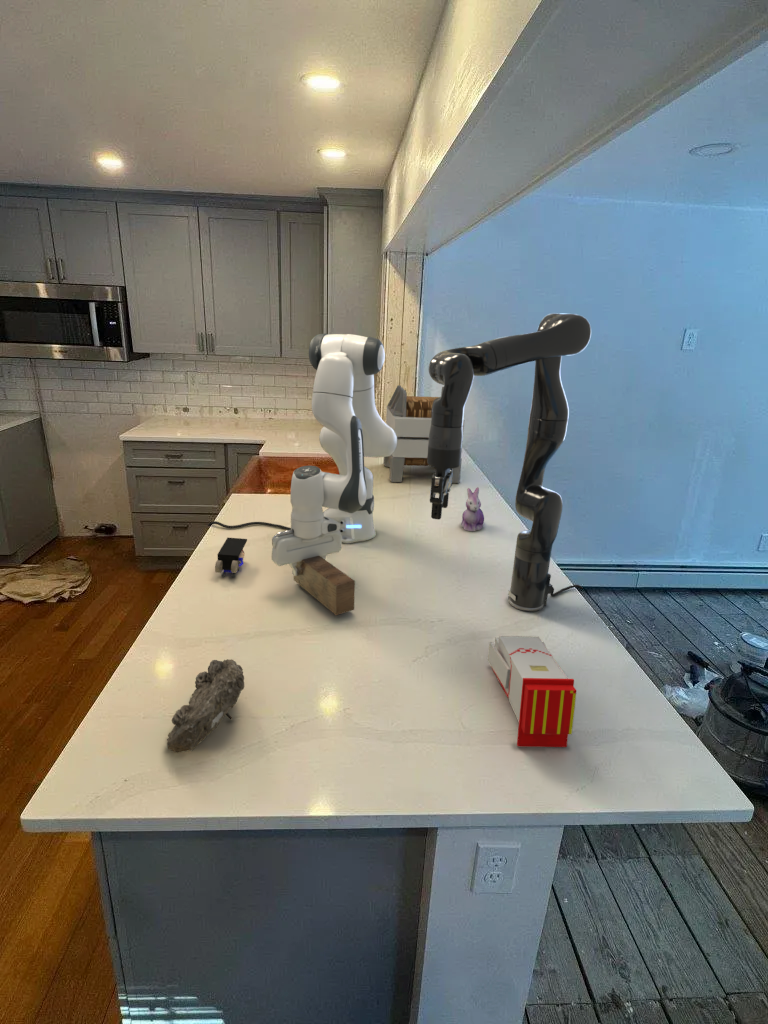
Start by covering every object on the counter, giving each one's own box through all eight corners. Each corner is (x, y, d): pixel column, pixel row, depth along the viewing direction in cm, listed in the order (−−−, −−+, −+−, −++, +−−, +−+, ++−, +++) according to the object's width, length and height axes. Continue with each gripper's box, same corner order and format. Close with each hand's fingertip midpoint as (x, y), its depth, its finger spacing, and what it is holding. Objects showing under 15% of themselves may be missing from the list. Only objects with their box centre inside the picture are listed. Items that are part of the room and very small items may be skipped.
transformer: (382, 463, 289) (386, 382, 275) (445, 464, 293) (451, 384, 279) (390, 482, 257) (394, 392, 243) (460, 483, 261) (468, 394, 247)
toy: (536, 619, 129) (586, 686, 99) (531, 673, 131) (578, 754, 102) (483, 618, 128) (517, 685, 99) (479, 672, 131) (511, 753, 102)
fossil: (192, 660, 117) (244, 628, 112) (224, 691, 120) (276, 661, 115) (142, 746, 98) (202, 712, 93) (182, 779, 101) (242, 748, 96)
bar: (293, 580, 160) (293, 553, 157) (310, 575, 163) (310, 549, 160) (336, 615, 143) (336, 586, 140) (354, 609, 146) (354, 580, 143)
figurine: (470, 533, 202) (474, 493, 197) (453, 524, 211) (457, 485, 206) (491, 530, 207) (495, 491, 202) (474, 520, 215) (478, 483, 210)
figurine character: (238, 584, 162) (249, 557, 175) (236, 562, 158) (247, 536, 172) (215, 584, 161) (227, 556, 175) (212, 561, 158) (225, 535, 171)
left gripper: (277, 537, 145) (278, 585, 150) (345, 523, 157) (344, 568, 162) (266, 529, 150) (268, 576, 155) (333, 516, 162) (332, 560, 166)
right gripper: (456, 453, 119) (450, 525, 125) (466, 440, 132) (460, 505, 138) (421, 449, 121) (417, 520, 127) (434, 436, 134) (429, 501, 140)
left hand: (307, 572), depth 158 cm, fingers closed on bar, 5 cm apart
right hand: (439, 512), depth 132 cm, fingers open, 8 cm apart
